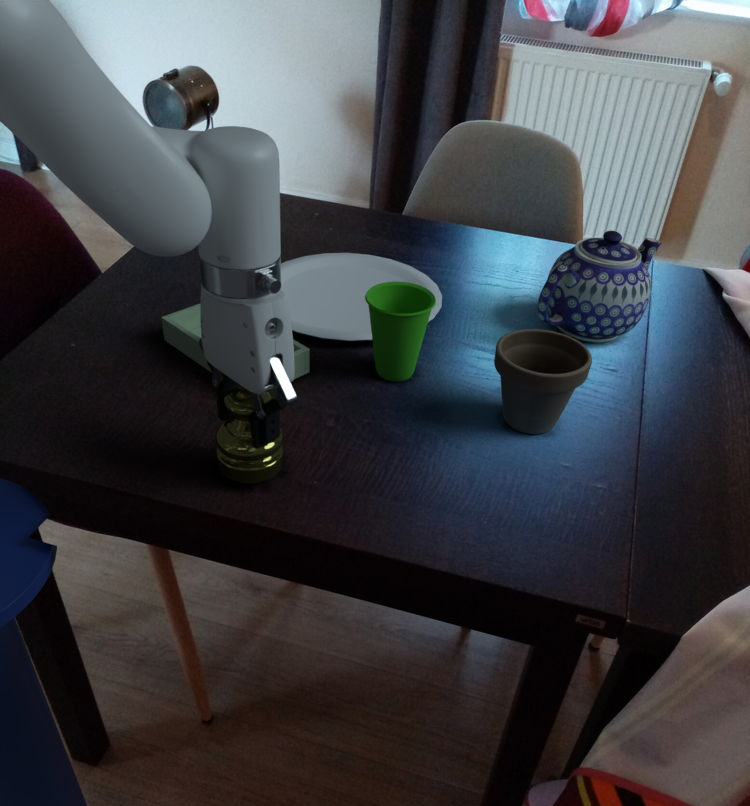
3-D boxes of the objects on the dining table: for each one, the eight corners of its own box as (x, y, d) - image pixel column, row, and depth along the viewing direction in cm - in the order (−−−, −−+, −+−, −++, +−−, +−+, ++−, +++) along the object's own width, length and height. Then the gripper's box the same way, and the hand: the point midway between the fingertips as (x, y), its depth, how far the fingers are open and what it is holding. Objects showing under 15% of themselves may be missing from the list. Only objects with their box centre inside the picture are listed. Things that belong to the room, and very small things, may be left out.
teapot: (565, 371, 109) (590, 271, 99) (494, 325, 118) (510, 229, 108) (680, 327, 120) (712, 233, 111) (607, 288, 129) (630, 198, 119)
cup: (348, 367, 107) (350, 293, 99) (397, 348, 111) (403, 275, 104) (391, 397, 102) (397, 321, 94) (441, 375, 106) (450, 301, 99)
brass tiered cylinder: (293, 454, 91) (293, 380, 84) (266, 492, 85) (264, 416, 79) (235, 439, 92) (231, 365, 86) (205, 475, 87) (198, 400, 80)
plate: (387, 370, 106) (388, 359, 105) (213, 313, 116) (212, 303, 115) (470, 289, 126) (472, 280, 125) (316, 247, 136) (316, 237, 135)
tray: (249, 399, 100) (248, 375, 97) (164, 340, 110) (160, 316, 107) (309, 372, 105) (309, 348, 103) (223, 318, 115) (221, 295, 113)
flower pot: (510, 384, 105) (523, 317, 99) (588, 415, 101) (607, 346, 94) (467, 423, 98) (478, 353, 91) (549, 458, 93) (567, 387, 87)
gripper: (331, 294, 72) (326, 451, 83) (219, 233, 80) (229, 383, 92) (266, 318, 67) (271, 480, 79) (156, 251, 76) (175, 406, 88)
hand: (248, 427), depth 86 cm, fingers closed on brass tiered cylinder, 5 cm apart
